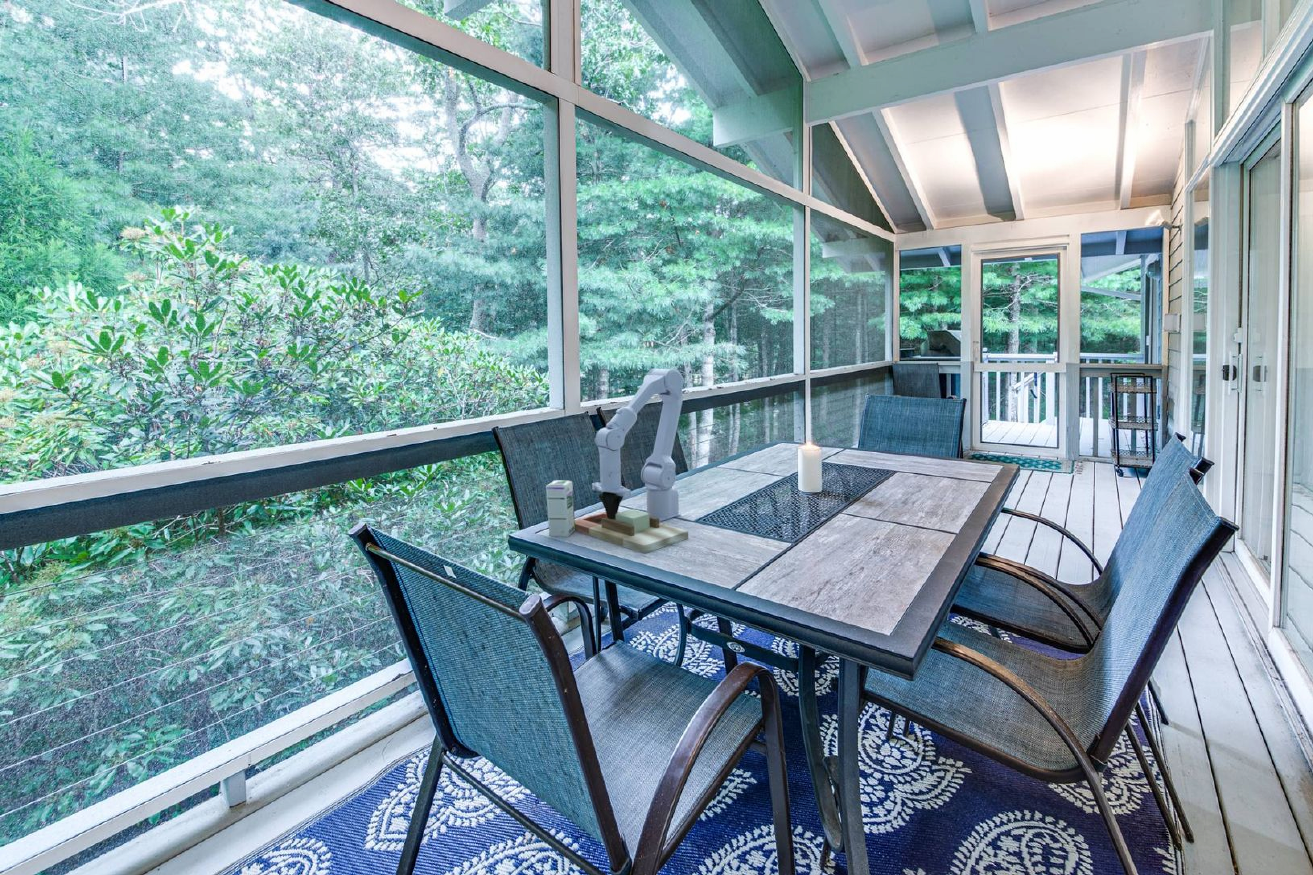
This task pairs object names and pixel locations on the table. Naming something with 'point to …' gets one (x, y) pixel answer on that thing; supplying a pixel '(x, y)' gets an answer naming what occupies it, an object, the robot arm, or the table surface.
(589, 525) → the trap track
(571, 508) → the syrup box
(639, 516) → the sage block
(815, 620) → the table surface
